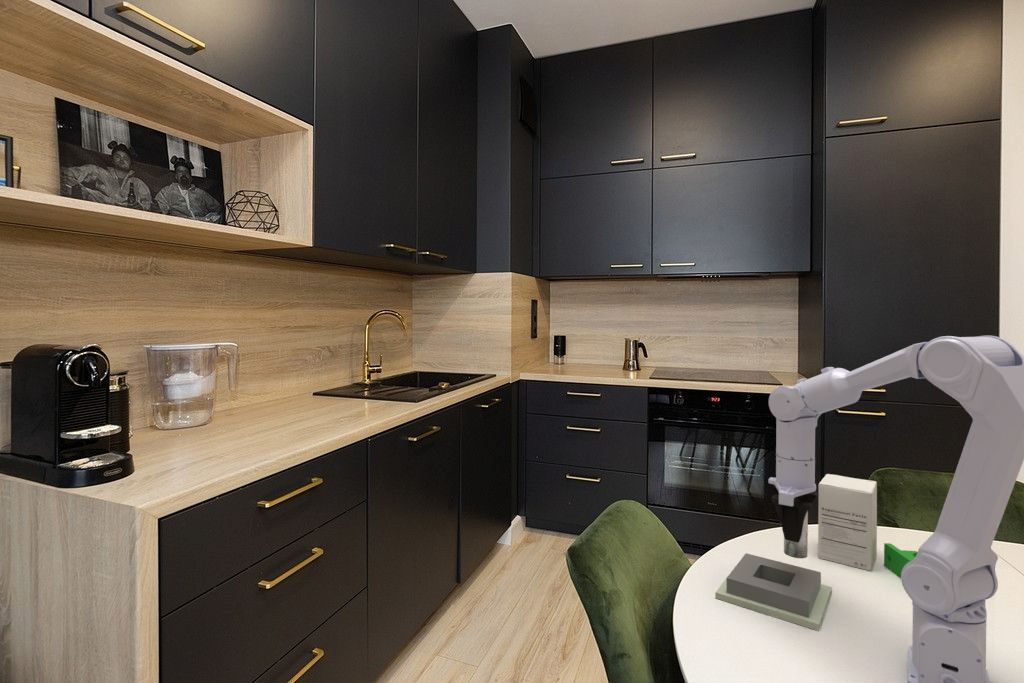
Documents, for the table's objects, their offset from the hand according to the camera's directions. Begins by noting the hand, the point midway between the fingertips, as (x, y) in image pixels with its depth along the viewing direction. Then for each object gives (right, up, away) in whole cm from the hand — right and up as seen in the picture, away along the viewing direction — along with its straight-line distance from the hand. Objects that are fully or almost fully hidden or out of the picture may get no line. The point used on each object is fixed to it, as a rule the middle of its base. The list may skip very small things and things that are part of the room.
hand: (794, 536), depth 86 cm
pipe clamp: (+24, -10, +5) cm, 26 cm away
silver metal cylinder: (0, -3, 0) cm, 3 cm away
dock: (-4, -10, 0) cm, 11 cm away
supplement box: (+18, -10, +14) cm, 25 cm away
